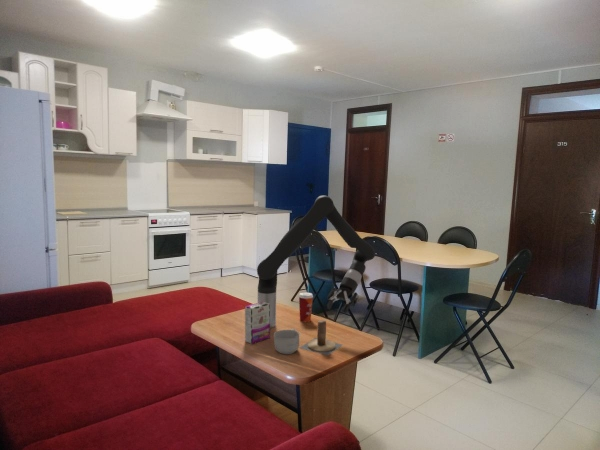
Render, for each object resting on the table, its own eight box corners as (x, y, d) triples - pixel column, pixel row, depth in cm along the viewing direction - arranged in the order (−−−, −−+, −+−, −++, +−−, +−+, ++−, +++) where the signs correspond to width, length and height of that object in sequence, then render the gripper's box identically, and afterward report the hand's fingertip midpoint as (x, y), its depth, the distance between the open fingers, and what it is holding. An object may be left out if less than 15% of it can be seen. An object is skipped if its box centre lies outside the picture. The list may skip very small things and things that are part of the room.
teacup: (289, 359, 161) (290, 340, 161) (268, 353, 167) (268, 334, 166) (307, 348, 173) (308, 330, 172) (286, 342, 179) (287, 325, 178)
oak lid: (302, 347, 172) (303, 322, 171) (315, 339, 182) (316, 315, 181) (327, 354, 166) (327, 328, 165) (339, 344, 176) (340, 320, 175)
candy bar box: (262, 335, 187) (263, 300, 185) (270, 338, 184) (270, 303, 182) (244, 341, 179) (244, 305, 177) (251, 344, 175) (251, 308, 174)
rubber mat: (299, 348, 172) (299, 347, 172) (315, 338, 184) (315, 337, 184) (328, 356, 165) (328, 355, 165) (342, 345, 177) (342, 344, 177)
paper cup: (311, 323, 205) (311, 296, 204) (296, 321, 207) (297, 295, 205) (313, 318, 213) (314, 292, 211) (299, 317, 214) (300, 291, 213)
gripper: (335, 274, 190) (319, 302, 183) (360, 279, 181) (345, 309, 174) (341, 283, 195) (326, 311, 187) (366, 288, 186) (352, 318, 178)
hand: (335, 310), depth 180 cm, fingers open, 8 cm apart
